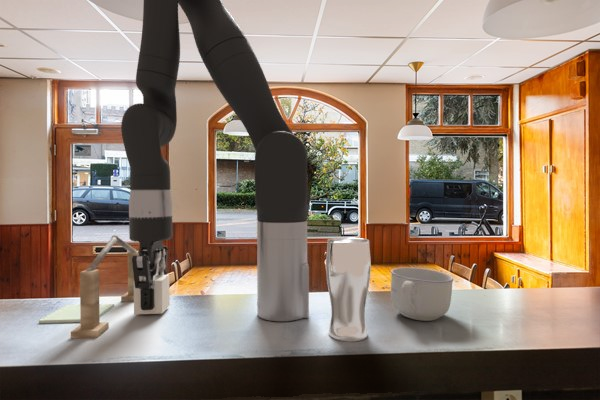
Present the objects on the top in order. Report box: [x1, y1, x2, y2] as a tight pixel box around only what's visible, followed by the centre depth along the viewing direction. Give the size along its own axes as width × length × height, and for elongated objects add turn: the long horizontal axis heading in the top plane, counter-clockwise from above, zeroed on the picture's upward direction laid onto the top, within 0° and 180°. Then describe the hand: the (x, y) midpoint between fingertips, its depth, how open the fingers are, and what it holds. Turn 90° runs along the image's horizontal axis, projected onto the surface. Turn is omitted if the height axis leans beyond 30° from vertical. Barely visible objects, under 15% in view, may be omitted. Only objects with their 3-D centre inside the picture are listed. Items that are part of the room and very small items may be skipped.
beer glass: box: [325, 237, 372, 343], centre depth 60 cm, size 7×7×15 cm
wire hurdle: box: [70, 234, 139, 339], centre depth 71 cm, size 4×24×15 cm, turn 5°
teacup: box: [390, 267, 454, 322], centre depth 68 cm, size 14×11×8 cm
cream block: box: [133, 274, 171, 315], centre depth 71 cm, size 5×5×6 cm
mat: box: [38, 303, 115, 324], centre depth 70 cm, size 9×9×1 cm
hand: (152, 304), depth 71 cm, fingers closed on cream block, 5 cm apart
